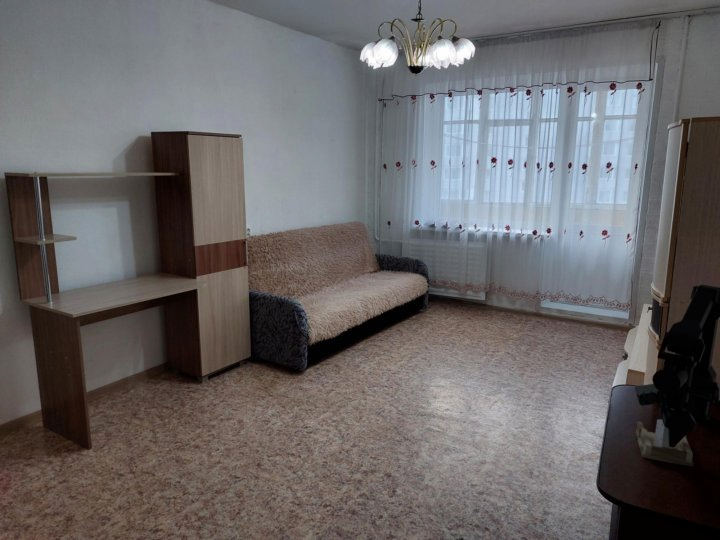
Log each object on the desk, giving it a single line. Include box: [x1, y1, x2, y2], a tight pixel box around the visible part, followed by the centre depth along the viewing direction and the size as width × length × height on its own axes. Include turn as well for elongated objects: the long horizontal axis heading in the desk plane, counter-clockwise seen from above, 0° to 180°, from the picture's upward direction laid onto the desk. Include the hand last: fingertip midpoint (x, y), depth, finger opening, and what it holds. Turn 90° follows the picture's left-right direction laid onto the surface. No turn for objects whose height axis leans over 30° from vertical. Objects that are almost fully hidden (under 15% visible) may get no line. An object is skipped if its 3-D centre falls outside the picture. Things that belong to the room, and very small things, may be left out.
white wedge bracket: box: [654, 418, 678, 450], centre depth 127 cm, size 4×10×9 cm, turn 164°
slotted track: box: [635, 421, 695, 468], centre depth 130 cm, size 12×11×4 cm
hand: (667, 436), depth 127 cm, fingers open, 9 cm apart
